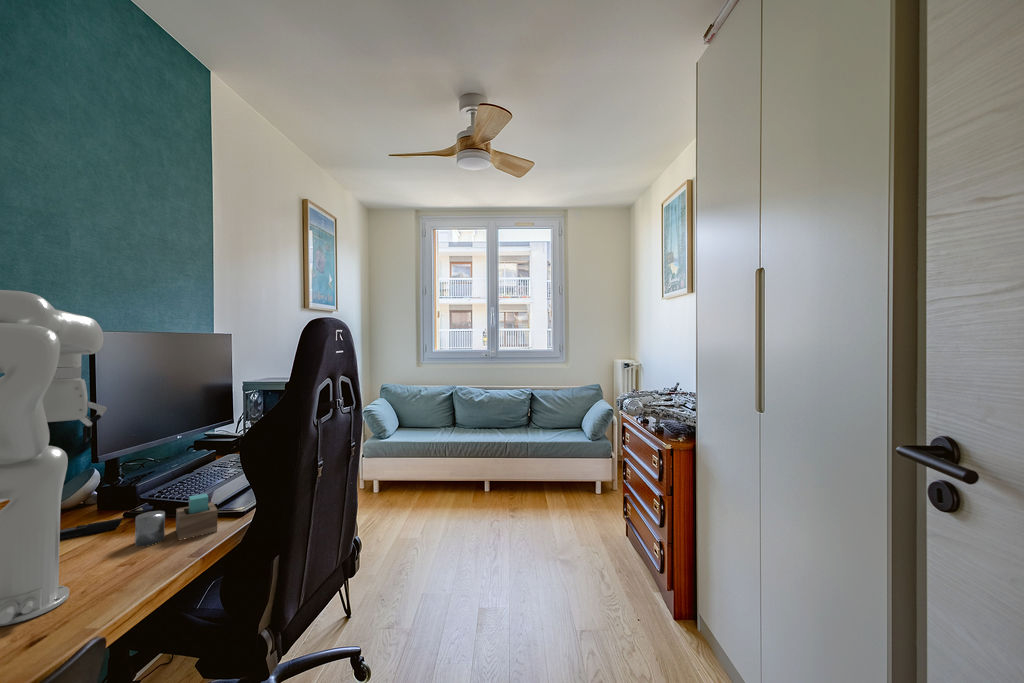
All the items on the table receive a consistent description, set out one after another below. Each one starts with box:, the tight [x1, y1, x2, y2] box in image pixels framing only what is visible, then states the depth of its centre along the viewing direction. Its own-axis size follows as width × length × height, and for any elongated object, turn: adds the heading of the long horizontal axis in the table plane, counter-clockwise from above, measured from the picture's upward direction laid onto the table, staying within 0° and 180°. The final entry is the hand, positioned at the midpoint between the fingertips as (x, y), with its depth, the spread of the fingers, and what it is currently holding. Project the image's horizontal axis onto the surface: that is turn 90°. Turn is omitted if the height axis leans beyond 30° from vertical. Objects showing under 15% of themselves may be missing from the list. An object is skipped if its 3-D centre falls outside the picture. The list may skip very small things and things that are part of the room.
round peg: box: [134, 510, 166, 547], centre depth 116 cm, size 6×6×7 cm
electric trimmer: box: [60, 517, 123, 540], centre depth 120 cm, size 4×16×3 cm, turn 130°
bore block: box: [175, 501, 219, 540], centre depth 122 cm, size 8×8×6 cm
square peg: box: [188, 493, 209, 514], centre depth 123 cm, size 4×4×8 cm
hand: (58, 444), depth 108 cm, fingers open, 9 cm apart
